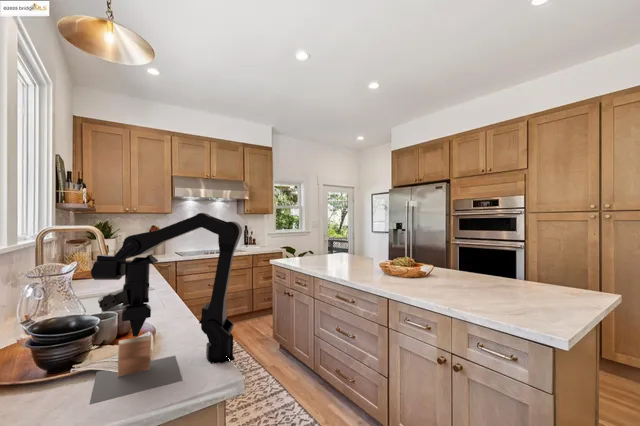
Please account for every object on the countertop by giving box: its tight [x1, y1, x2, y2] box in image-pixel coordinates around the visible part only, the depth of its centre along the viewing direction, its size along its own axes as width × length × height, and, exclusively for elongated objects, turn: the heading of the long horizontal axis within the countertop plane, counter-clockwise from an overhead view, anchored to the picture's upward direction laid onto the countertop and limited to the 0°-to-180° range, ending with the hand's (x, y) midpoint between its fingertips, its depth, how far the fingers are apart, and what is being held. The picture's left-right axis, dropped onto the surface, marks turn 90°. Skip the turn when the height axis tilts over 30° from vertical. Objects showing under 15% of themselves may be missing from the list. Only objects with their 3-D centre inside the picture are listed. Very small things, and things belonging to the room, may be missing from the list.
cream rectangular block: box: [117, 335, 152, 377], centre depth 75 cm, size 7×3×8 cm, turn 123°
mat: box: [89, 355, 183, 405], centre depth 73 cm, size 18×15×1 cm
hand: (135, 336), depth 81 cm, fingers closed
